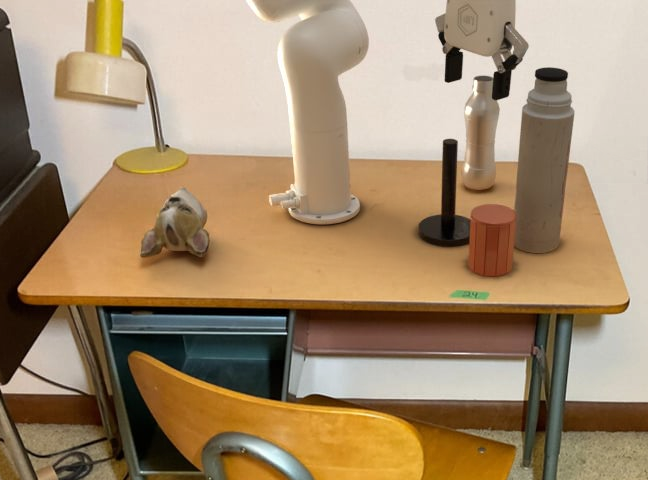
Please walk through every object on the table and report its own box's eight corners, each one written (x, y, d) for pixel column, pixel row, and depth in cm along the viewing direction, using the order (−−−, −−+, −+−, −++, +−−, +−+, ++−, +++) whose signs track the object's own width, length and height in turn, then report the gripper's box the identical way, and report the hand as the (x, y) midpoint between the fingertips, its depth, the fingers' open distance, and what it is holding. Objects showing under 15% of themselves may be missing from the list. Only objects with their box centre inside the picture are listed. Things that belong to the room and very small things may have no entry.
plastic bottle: (501, 185, 161) (509, 77, 149) (483, 197, 156) (490, 86, 144) (472, 177, 164) (477, 70, 151) (454, 188, 159) (457, 79, 147)
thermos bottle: (561, 234, 145) (581, 65, 128) (556, 255, 139) (577, 81, 122) (514, 229, 146) (528, 61, 129) (508, 250, 140) (522, 76, 123)
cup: (481, 279, 132) (484, 226, 126) (460, 260, 137) (462, 208, 131) (520, 271, 134) (524, 218, 129) (498, 252, 139) (502, 200, 134)
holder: (434, 251, 139) (435, 156, 129) (408, 226, 146) (408, 135, 136) (487, 240, 143) (493, 147, 133) (460, 216, 150) (463, 126, 140)
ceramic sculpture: (214, 177, 139) (199, 222, 127) (222, 224, 144) (209, 271, 133) (148, 177, 138) (127, 223, 127) (159, 225, 144) (140, 272, 132)
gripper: (421, -46, 118) (418, 79, 129) (514, -22, 109) (502, 110, 119) (459, -52, 122) (452, 70, 133) (551, -29, 113) (536, 100, 124)
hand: (476, 89), depth 126 cm, fingers open, 9 cm apart
